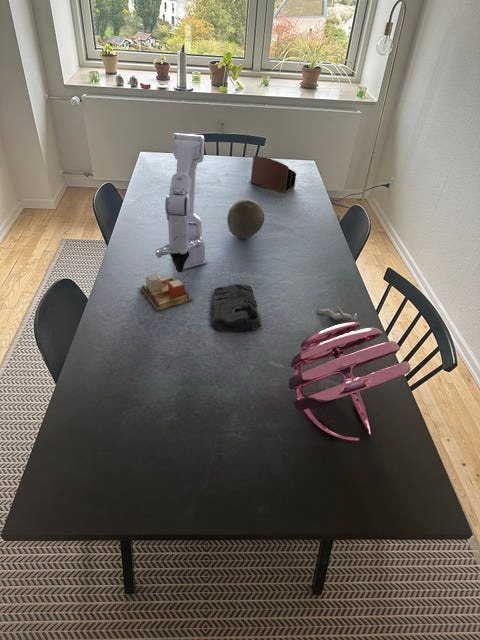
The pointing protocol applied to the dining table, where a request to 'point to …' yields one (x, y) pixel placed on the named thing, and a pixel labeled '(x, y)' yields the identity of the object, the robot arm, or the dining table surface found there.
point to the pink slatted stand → (341, 369)
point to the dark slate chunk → (235, 308)
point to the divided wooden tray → (164, 296)
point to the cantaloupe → (245, 218)
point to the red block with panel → (175, 288)
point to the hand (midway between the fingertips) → (179, 270)
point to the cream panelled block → (154, 283)
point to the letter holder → (272, 175)
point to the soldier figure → (337, 314)
